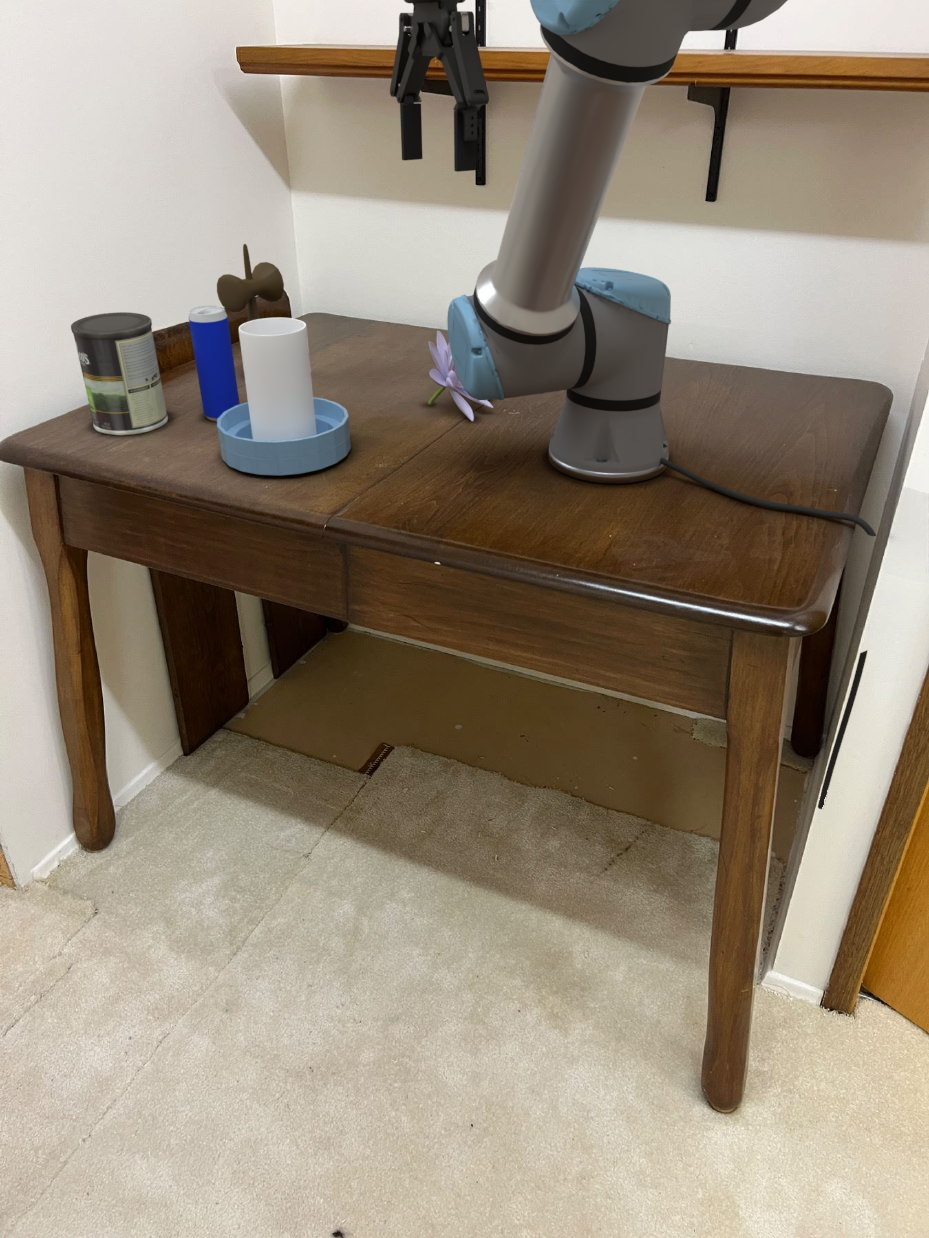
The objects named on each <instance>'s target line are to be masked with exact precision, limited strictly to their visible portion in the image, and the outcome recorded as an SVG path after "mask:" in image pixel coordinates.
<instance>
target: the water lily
mask: <svg viewBox="0 0 929 1238" xmlns="http://www.w3.org/2000/svg"><path fill="white" fill-rule="evenodd" d="M428 348H429V351H430V355H431V358H432V360H433V362H434V365H435V366H436V368H437V369H436V368H431V369H430V370H429V372H428V373H429V378H430V379H431V380H432V381H433V382H434V383H435V384H436V385H438V386H440V388H439V389H437V390H436V392H435V393H434V394H433V395H432V397H431V398H430V399H429V400H428V401H427V404H428V405H429V406H432V405H433V404H434V402H435V401H436V400H437V398H438V397H439V396H440V395H441V394H442V393H443V391H445V389H446V388H449V392H450V395H451V397H452V399H453V401H454V404H455V405H456V406H457V407H458V409H459V410H460V411H461V413H463V414H464V416H466V418H467V419H469V420H470V421H471V422H474V420H475V416H474V412H473V409H472V407H471V406H470V405H469V403H468V402H467V401H466V400H465V399H464V397H466V398H467V399H469V400H470V401H472V402H474V403H476V404H478V405H482V406H484V407H486V408H491V409H494V406H493V405H492V403H491V402H490V401H489V400H477V399H475V398H473V397H471V396H470V395H469V394H468V393H467V392H466V391H465V390H464V388H463V386H462V384H461V382H460V380H459V378H458V375H457V372H456V369H455V366H454V363H453V359H452V355H451V350H450V344H449V343H447V340H446V338H445V337H444V335H443V333H442V332H441V331H440V330H439V329H437V331H436V345H435V343H433V342H432V341H430V340H428ZM463 396H464V397H463Z"/></svg>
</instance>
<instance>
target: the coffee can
mask: <svg viewBox="0 0 929 1238" xmlns="http://www.w3.org/2000/svg"><path fill="white" fill-rule="evenodd" d="M152 327H153V322H152V318H151V317H149V316H148V315H145V314H142V313H137V312H122V311H121V312H120V311H119V312H106V313H99V314H92V315H89V316H85V317H82V318H80V319H77V320H76V321H73V322H72V323H71V325H70V330H71V333H72V334H73V339H74V343H75V348H76V352H77V355H78V360H79V365H80V370H81V374H82V377H83V382H84V383H83V384H84V387H85V391H86V396H87V400H88V405H89V408H90V414H91V419H92V425H93V428H94V430H95V431H96V432H98V433H101V434H105V435H109V436H133V435H140V434H144V433H148V432H152V431H154V430H157V429H159V428H161V427H163V426H164V425H166V424H167V423H168V420H169V416H168V413H167V407H166V402H165V395H164V390H163V385H162V379H161V372H160V368H159V362H158V357H157V350H156V346H155V339H154V334H153V328H152Z"/></svg>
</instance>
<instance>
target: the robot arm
mask: <svg viewBox="0 0 929 1238" xmlns="http://www.w3.org/2000/svg"><path fill="white" fill-rule="evenodd" d="M403 1H404V2H405V3H406V4H412V5H413V9H412V12H400V13H399V16H398V38H397V43H396V50H395V56H394V62H393V68H392V74H391V81H390V86H389V95H390V97H392V98H396V102H397V103H398V104H399V117H400V142H401V160H402V161H415V160H423V127H422V124H423V123H422V121H423V120H422V103H421V102H422V98H421V96H420V93H421V91H422V87H423V85H424V82H425V79H426V75H427V73H428V69H429V66H430V64H431V62H432V60H433V59H435V58H436V60H438V61H439V62H440V63H441V65H442V68H443V70H444V73H445V76H446V78H447V82H448V84H449V87H450V89H451V93H452V94H453V97H454V100H455V105H454V107H453V153H454V154H453V157H454V158H453V159H454V161H453V163H454V166H453V168H454V169H453V171H454V172H457V173H459V172H460V173H461V172H470V171H471V172H472V171H477V139H478V138H477V137H478V111H480V109H481V107H482V106H484V105H485V106H486V105H488V104H489V101H490V96H489V92H488V91H489V90H488V87H487V82H486V78H485V74H484V69H483V64H482V59H481V55H480V51H479V47H478V42H477V37H476V29H475V27H476V26H475V15H474V11H467V10H466V11H465V10H464V11H463V10H462V11H459V10H458V4H463V3H465V2H466V0H403ZM788 1H789V0H529V3H530V7H531V10H532V12H533V14H534V16H535V18H536V20H537V22H538V23H539V32H540V36H541V39H542V41H543V43H544V45H545V46H546V48H547V50H548V52H549V53H550V56H549V60H548V63H547V67H546V71H545V75H544V78H543V83H542V87H541V90H540V94H539V97H538V101H537V105H536V109H535V112H534V113H535V114H534V116H533V120H532V125H531V128H530V131H529V136H528V139H527V143H526V147H525V151H524V154H523V159H522V162H521V166H520V169H519V174H518V178H517V180H516V181H517V182H516V185H515V189H514V193H513V197H512V200H511V204H510V208H509V212H508V215H507V219H506V223H505V226H504V230H503V234H502V238H501V242H500V246H499V249H498V253H497V257H496V259H495V260H492V261H491V262H489V263H488V264H486V265H485V266H484V267H483V268H482V269H481V271H480V272H479V274H478V276H477V279H476V282H475V286H474V290H473V293H472V295H467V294H462V295H460V296H458V297H455V298H453V299H452V300H451V301H450V303H449V305H448V308H447V318H446V319H447V321H446V323H447V334H448V335H447V337H448V344H450V350H451V355H452V359H453V363H454V366H455V369H456V372H457V375H458V378H459V380H460V382H461V384H462V386H463V388H464V390H465V391H466V392H467V393H468V394H469V395H470V396H471V397H473V398H475V399H477V400H487V401H493V400H494V401H495V400H499V401H504V400H507V399H512V398H519V397H527V396H532V395H540V394H545V393H546V394H547V393H553V392H560V391H566V392H565V401H564V404H563V406H562V409H561V412H560V414H559V418H558V420H557V423H556V426H555V429H554V432H553V434H552V435H551V437H550V440H549V445H548V461H549V463H550V465H551V466H552V467H553V468H554V469H556V470H557V471H558V472H560V473H562V474H564V475H566V476H569V477H571V478H575V479H578V480H581V481H582V480H583V481H586V482H591V483H599V484H630V483H637V482H643V481H646V480H651V479H653V478H655V477H657V476H659V475H660V474H662V473H664V472H665V470H666V469H667V468H669V469H671V470H673V471H675V472H677V473H679V474H681V475H683V476H685V477H687V478H688V479H690V480H693V481H694V482H696V483H698V484H700V485H702V486H704V487H706V488H708V489H711V490H713V491H715V492H718V493H720V494H723V495H725V496H727V497H730V498H733V499H736V500H738V501H741V502H745V503H749V504H751V505H755V506H759V507H763V508H768V509H774V510H780V511H787V512H792V513H793V512H794V513H795V512H796V513H800V514H801V513H802V514H807V515H813V516H817V517H820V518H821V517H822V518H826V519H832V520H842V521H847V522H852V523H854V524H856V525H858V526H859V527H861V528H862V529H863V531H864V532H865V533H866V534H867V535H868V536H870V537H877V534H876V532H875V530H874V529H873V528H872V527H871V525H870V524H869V523H868V522H867V521H865V520H864V519H863V518H862V517H860V516H857V515H855V514H850V513H846V512H836V511H828V510H822V509H818V508H814V507H809V506H803V505H796V504H787V503H780V502H775V501H770V500H764V499H761V498H756V497H752V496H750V495H746V494H742V493H740V492H737V491H734V490H732V489H729V488H726V487H724V486H722V485H719V484H717V483H714V482H712V481H710V480H708V479H706V478H704V477H701V476H700V475H698V474H696V473H694V472H693V471H690V470H688V469H686V468H685V467H682V466H680V465H678V464H676V463H674V462H672V461H670V460H669V457H670V452H669V451H670V447H669V441H668V440H667V432H666V428H665V422H664V418H663V414H662V409H661V396H662V389H663V378H664V371H665V362H666V354H667V345H668V334H669V327H670V325H671V323H672V319H671V307H672V305H671V304H672V301H671V300H672V295H671V291H670V289H669V287H668V285H667V284H665V283H664V281H662V280H660V279H658V278H655V277H653V276H649V275H646V274H642V273H638V272H634V271H629V270H623V269H617V268H609V267H595V266H592V267H590V266H589V267H587V266H586V267H582V264H583V261H584V259H585V255H586V253H587V250H588V247H589V245H590V242H591V239H592V237H593V234H594V231H595V228H596V225H597V223H598V220H599V217H600V215H601V212H602V209H603V206H604V203H605V201H606V197H607V195H608V193H609V189H610V187H611V184H612V182H613V179H614V176H615V174H616V170H617V168H618V165H619V163H620V160H621V158H622V154H623V151H624V149H625V145H626V143H627V140H628V138H629V135H630V132H631V129H632V126H633V123H634V121H635V118H636V115H637V113H638V110H639V107H640V104H641V102H642V99H643V96H644V93H645V91H646V88H647V86H650V85H653V84H655V83H657V82H659V81H661V80H663V79H664V78H666V77H667V76H668V75H669V74H670V72H671V71H672V68H673V66H674V64H675V61H676V58H677V56H678V54H679V51H680V48H681V46H682V43H683V41H684V39H685V36H686V35H687V34H688V33H689V32H707V31H709V32H710V31H711V32H715V31H717V32H718V31H731V30H739V29H742V28H746V27H749V26H752V25H754V24H756V23H759V22H761V21H764V20H765V19H766V18H768V17H769V16H770V15H772V14H774V13H775V12H776V11H778V10H780V9H781V7H782V6H784V4H786V3H787V2H788ZM868 651H869V650H868V649H867V650H864V651H862V652H860V653H859V656H858V660H857V664H856V669H855V673H854V676H853V680H852V683H851V686H850V691H849V695H848V698H847V702H846V705H845V709H844V712H843V715H842V719H841V720H840V725H839V729H838V731H837V735H836V738H835V742H834V745H833V747H832V752H831V754H830V758H829V762H828V765H827V768H826V772H825V776H824V780H823V784H822V786H821V787H822V788H821V791H820V795H821V796H819V799H820V800H818V803H817V808H818V809H819V810H823V809H822V807H823V805H824V806H825V804H824V799H825V797H826V798H827V796H828V792H827V790H828V791H829V788H830V785H831V781H832V777H833V773H834V770H835V767H836V763H837V760H838V756H839V753H840V749H841V746H842V743H843V740H844V737H845V733H846V731H847V726H848V724H849V720H850V717H851V714H852V710H853V707H854V703H855V700H856V696H857V694H858V690H859V688H860V687H859V686H860V683H861V680H862V675H863V672H864V667H865V664H866V660H867V656H868ZM826 795H827V796H826Z"/></svg>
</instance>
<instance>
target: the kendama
mask: <svg viewBox="0 0 929 1238" xmlns="http://www.w3.org/2000/svg"><path fill="white" fill-rule="evenodd" d="M242 256H243V265H244V266H243V267H244V276H245V277H244V278H240V277H239V276H236V275H233V274H230V273H228V274H227V273H226V274H222V275H220V276H219V277H218V278H217V282H216V293H217V297H218V301H219V302H220V304H221V307H223V308H224V309H225V310H226V311H229V312H232V313H240V312H241V311H243V310H244V309H245V308H246V307H247V322H249V321H252V320H257V319H261V315H260V311H259V308H258V302H257V297H258V298H260V299H261V300H264V301H267V302H269V303H275V302H278V301H279V300H281V299H282V298H283V295H284V291H285V283H284V278H283V275H282V273H281V271H280V270H279V268H278V267H277V266H276V265H274V264H273V263H270V262H268V261H262V262H258V263H257V264H256V265H255V266H254V268H253V270H252V266H251V260H250V253H249V248H248V245H247V244H246V243H243V245H242Z"/></svg>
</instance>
